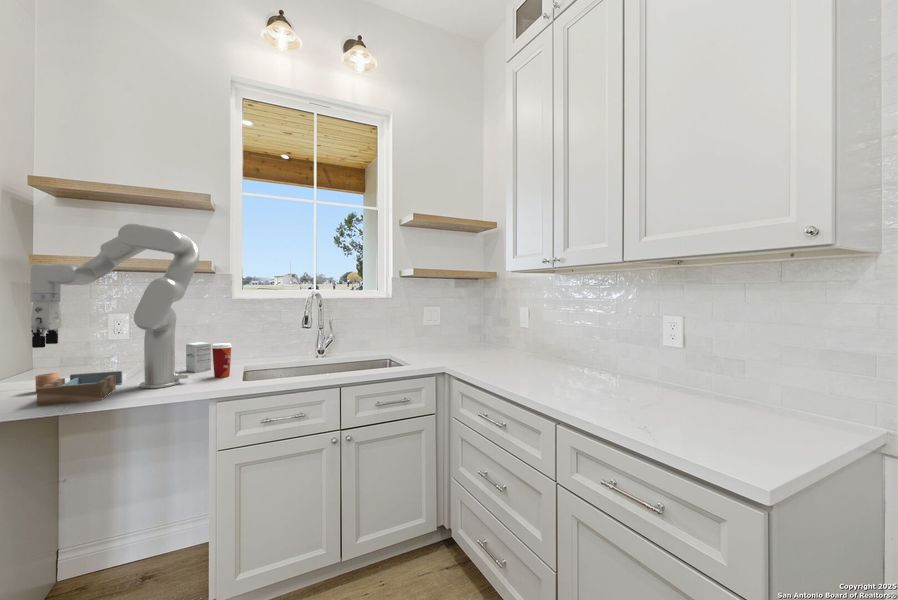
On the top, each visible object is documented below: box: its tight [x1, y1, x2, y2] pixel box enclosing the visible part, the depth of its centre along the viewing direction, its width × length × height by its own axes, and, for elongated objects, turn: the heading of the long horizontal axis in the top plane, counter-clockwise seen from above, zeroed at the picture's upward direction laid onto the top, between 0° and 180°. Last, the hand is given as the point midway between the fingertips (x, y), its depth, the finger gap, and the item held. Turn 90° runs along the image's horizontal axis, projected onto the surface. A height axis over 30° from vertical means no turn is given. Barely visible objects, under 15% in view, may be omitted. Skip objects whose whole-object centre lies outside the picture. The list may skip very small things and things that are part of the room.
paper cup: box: [211, 342, 233, 379], centre depth 166 cm, size 8×8×14 cm
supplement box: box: [185, 341, 212, 373], centre depth 177 cm, size 7×7×13 cm
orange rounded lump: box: [34, 372, 60, 394], centre depth 140 cm, size 6×6×6 cm
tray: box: [61, 370, 123, 386], centre depth 142 cm, size 15×15×5 cm
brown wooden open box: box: [36, 375, 117, 407], centre depth 133 cm, size 16×16×6 cm
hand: (45, 345), depth 139 cm, fingers open, 9 cm apart
